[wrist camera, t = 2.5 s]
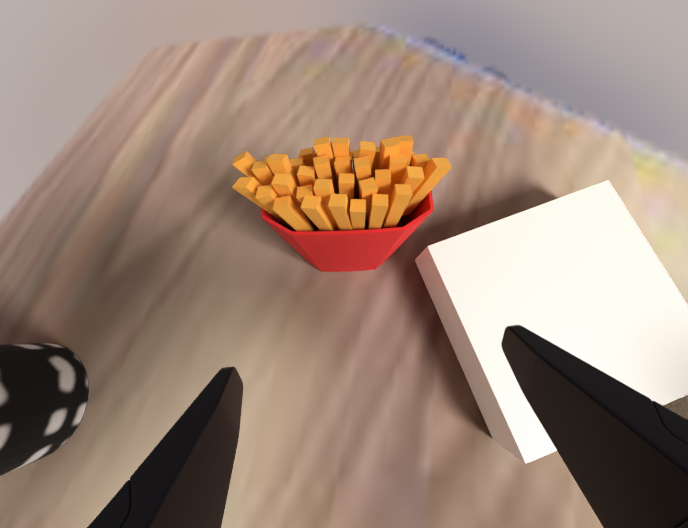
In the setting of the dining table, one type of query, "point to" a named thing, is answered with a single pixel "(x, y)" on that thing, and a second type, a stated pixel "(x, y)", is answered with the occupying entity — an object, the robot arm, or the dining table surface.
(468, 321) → the white flat square block
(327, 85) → the dining table surface
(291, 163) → the french fries
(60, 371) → the white-spotted black cylinder
